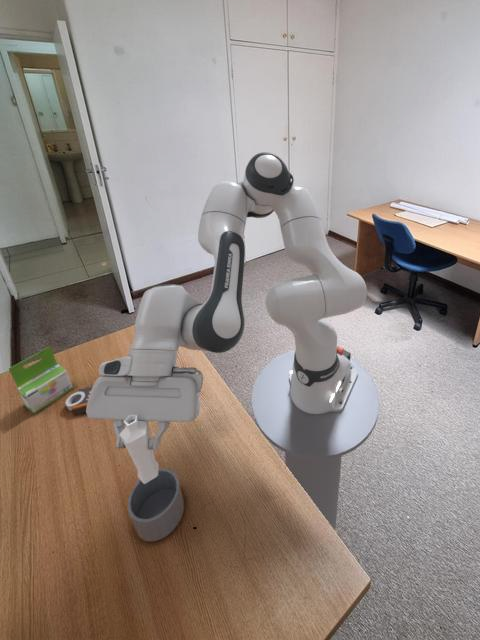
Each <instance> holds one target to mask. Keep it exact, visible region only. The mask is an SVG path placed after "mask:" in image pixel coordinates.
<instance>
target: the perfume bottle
mask: <svg viewBox="0 0 480 640" xmlns="http://www.w3.org/2000/svg"><path fill="white" fill-rule="evenodd" d="M124 423H125V424H126V425H125V426H124V429H123V430H122V432H121V433H120V437H121V439H122V441H123V442H124V444H125V446H126V448H125V449H126V450H127V452H128V454H129V456H130V458H131V460H132V462H133V464H134V466H135V467H136V470H137V478H138V480H141V481H142V482H143V484H146V483H147V482H149V481H151V480H152V479H154V478H155V477H157V476H158V469H160V468H159V467H160V464H159V462H158V461H157V460H156V457H155V452H154V450H150V449H148V445H149V439H150V438H152V437H151V432H150V427H149V421H140V420H138V419H137V415H129V416H128V417H127V418H126V419H125V420H124Z"/></svg>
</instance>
